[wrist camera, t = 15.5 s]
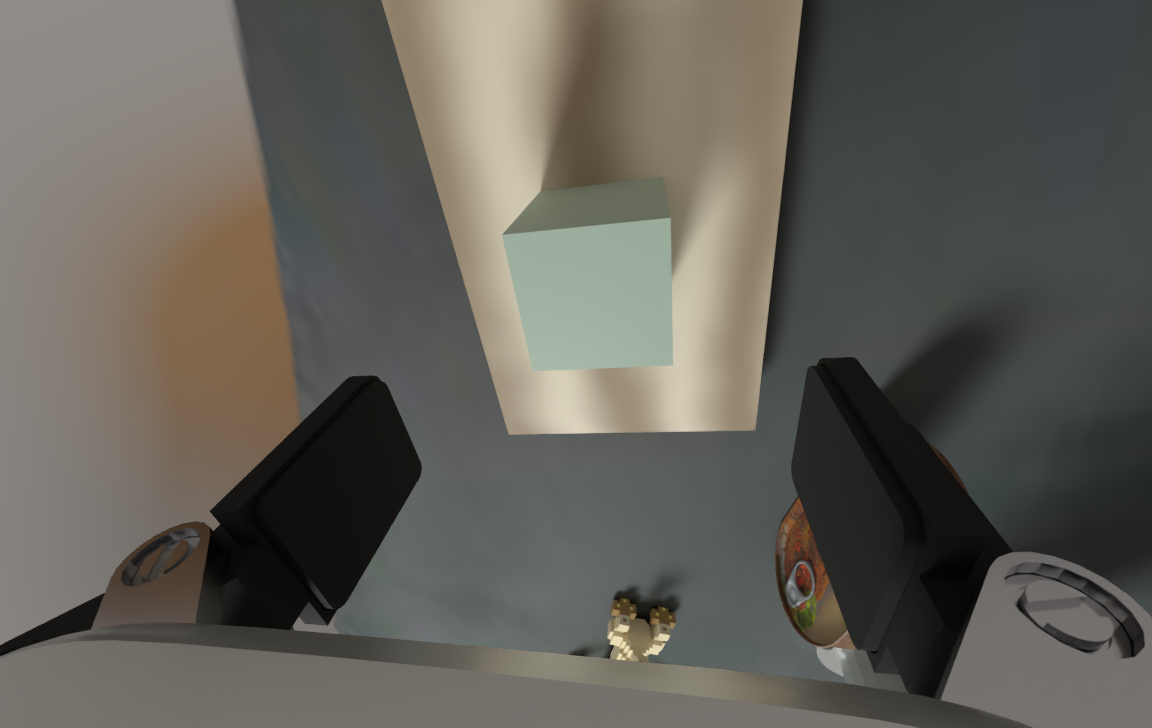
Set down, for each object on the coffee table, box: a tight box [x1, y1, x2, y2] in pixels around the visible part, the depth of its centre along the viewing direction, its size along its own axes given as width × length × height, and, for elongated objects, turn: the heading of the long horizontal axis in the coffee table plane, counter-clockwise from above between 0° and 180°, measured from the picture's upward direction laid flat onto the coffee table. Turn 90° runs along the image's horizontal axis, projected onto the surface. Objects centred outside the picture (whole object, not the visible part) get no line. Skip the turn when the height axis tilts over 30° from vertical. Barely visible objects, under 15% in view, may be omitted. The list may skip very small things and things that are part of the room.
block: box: [502, 177, 673, 371], centre depth 17 cm, size 5×5×6 cm
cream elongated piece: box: [608, 598, 676, 663], centre depth 44 cm, size 10×9×25 cm
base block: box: [382, 0, 803, 434], centre depth 20 cm, size 14×22×3 cm, turn 8°
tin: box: [775, 442, 968, 650], centre depth 26 cm, size 15×3×8 cm, turn 171°
